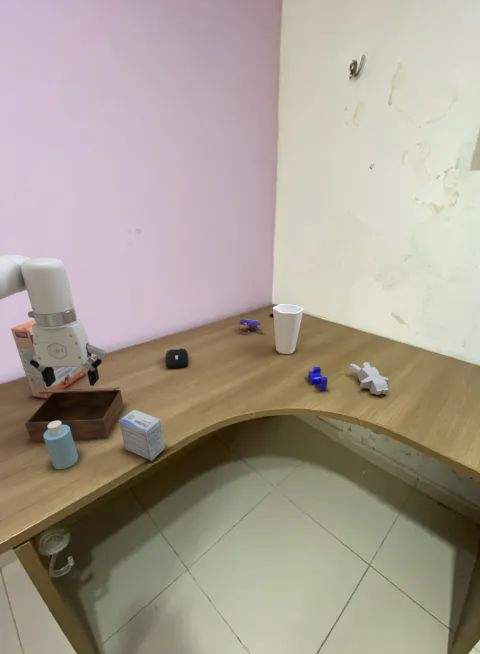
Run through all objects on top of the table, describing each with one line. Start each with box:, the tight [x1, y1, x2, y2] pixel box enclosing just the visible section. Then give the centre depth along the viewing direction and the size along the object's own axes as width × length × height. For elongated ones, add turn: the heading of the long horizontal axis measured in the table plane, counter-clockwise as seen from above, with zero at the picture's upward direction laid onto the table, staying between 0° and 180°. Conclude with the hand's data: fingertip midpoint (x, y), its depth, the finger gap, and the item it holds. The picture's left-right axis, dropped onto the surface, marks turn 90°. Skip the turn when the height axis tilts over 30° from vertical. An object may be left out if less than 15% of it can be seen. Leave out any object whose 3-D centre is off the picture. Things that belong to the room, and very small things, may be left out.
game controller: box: [238, 315, 264, 335], centre depth 136 cm, size 10×8×10 cm
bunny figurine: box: [348, 361, 390, 396], centre depth 99 cm, size 10×5×15 cm
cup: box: [272, 303, 304, 355], centre depth 117 cm, size 11×10×17 cm
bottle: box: [43, 421, 79, 470], centre depth 65 cm, size 5×5×10 cm
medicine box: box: [119, 409, 166, 462], centre depth 69 cm, size 8×4×9 cm, turn 65°
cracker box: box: [10, 319, 85, 400], centre depth 88 cm, size 14×6×21 cm, turn 170°
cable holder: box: [307, 366, 329, 392], centre depth 98 cm, size 8×4×4 cm, turn 10°
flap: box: [38, 386, 121, 394], centre depth 78 cm, size 16×6×1 cm, turn 97°
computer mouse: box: [165, 348, 189, 369], centre depth 109 cm, size 8×12×4 cm, turn 15°
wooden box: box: [25, 389, 124, 442], centre depth 77 cm, size 17×13×5 cm
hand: (73, 383), depth 75 cm, fingers open, 9 cm apart
